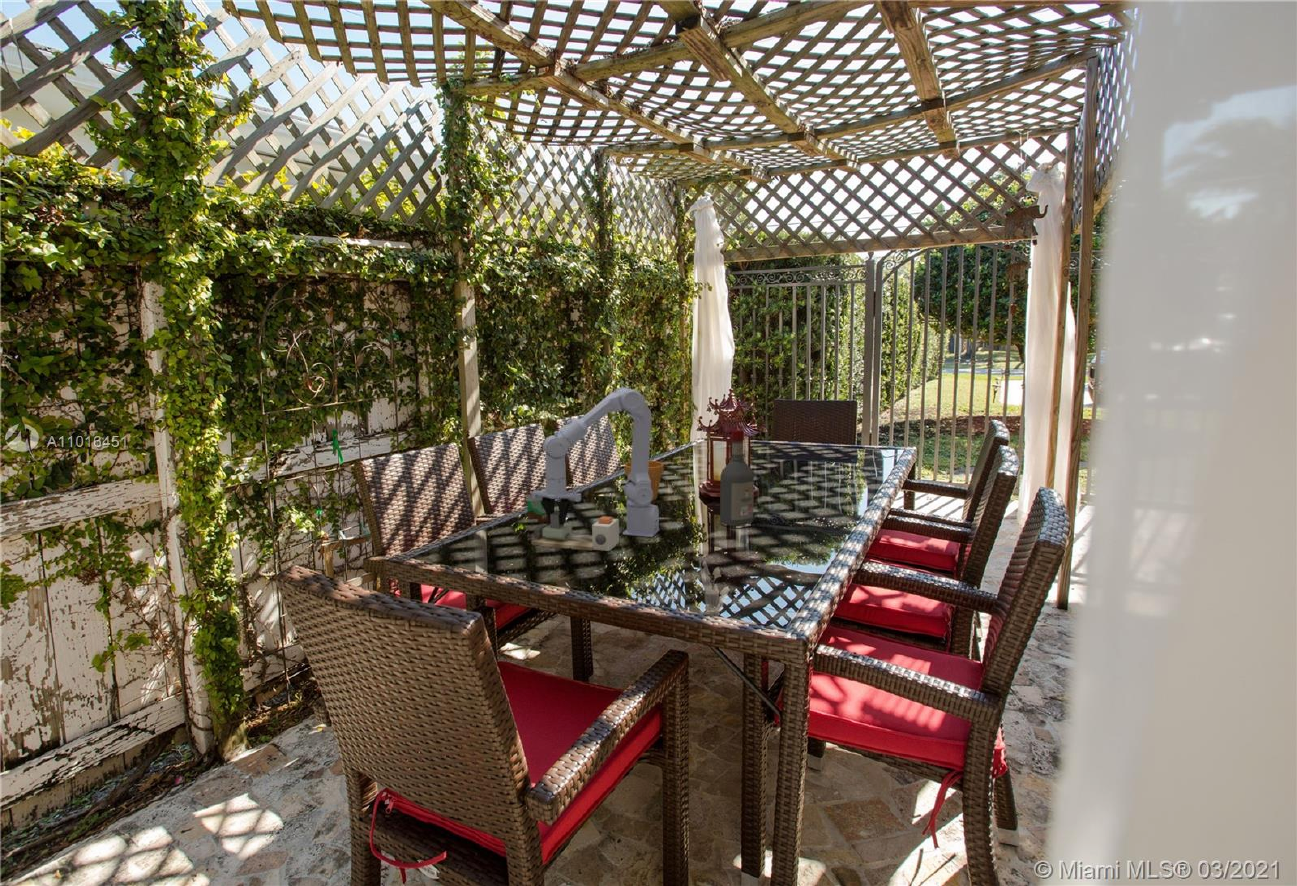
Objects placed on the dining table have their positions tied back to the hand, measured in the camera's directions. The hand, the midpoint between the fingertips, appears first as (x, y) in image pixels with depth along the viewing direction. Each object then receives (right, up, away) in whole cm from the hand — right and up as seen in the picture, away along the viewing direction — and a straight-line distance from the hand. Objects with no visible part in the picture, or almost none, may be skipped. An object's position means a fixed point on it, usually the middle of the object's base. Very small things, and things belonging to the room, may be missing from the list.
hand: (557, 523), depth 194 cm
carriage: (0, -4, +1) cm, 4 cm away
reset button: (+14, 0, -4) cm, 15 cm away
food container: (-8, -2, +23) cm, 24 cm away
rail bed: (+3, -6, 0) cm, 6 cm away
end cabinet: (+14, -6, -3) cm, 16 cm away
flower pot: (+25, +3, +51) cm, 57 cm away
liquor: (+54, -3, +18) cm, 57 cm away
